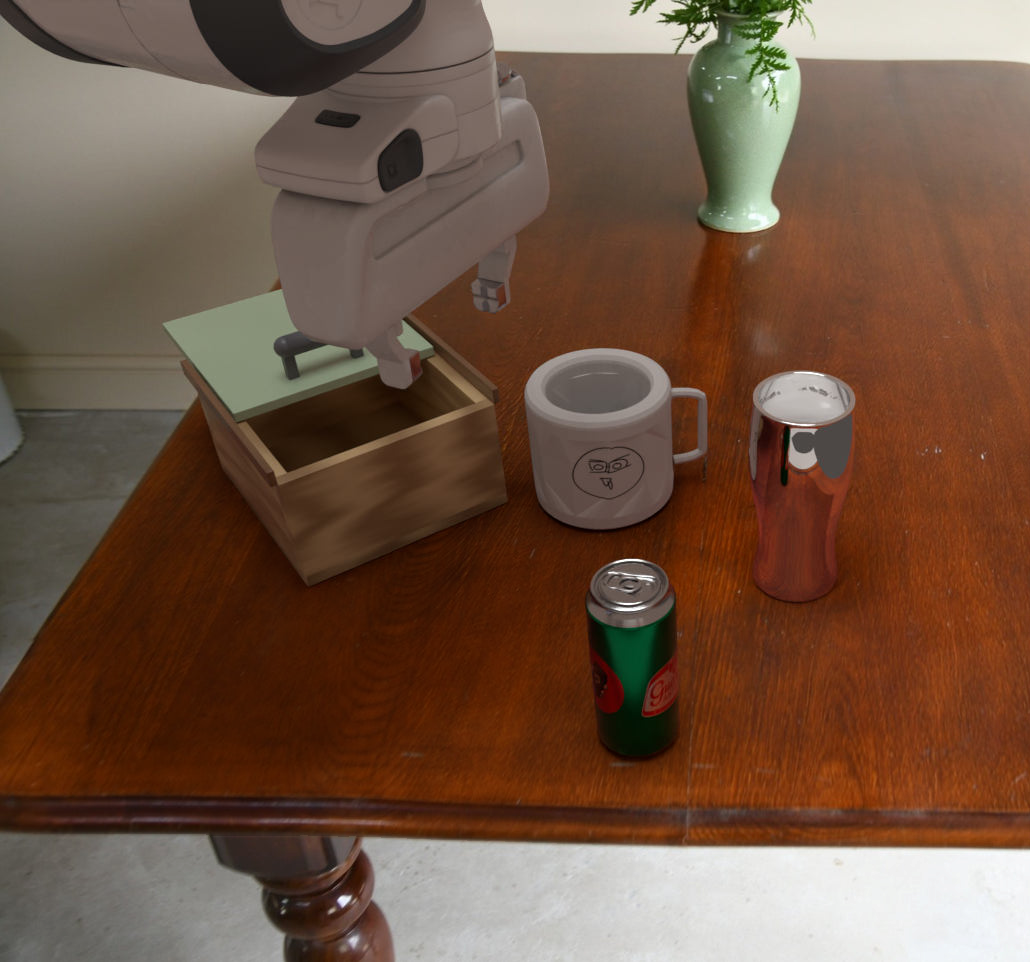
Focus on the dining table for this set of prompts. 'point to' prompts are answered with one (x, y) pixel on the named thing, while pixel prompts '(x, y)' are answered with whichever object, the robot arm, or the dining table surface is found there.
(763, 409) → the beer glass
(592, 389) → the mug
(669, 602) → the soda can
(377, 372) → the slide lid
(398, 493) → the box
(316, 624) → the dining table surface
